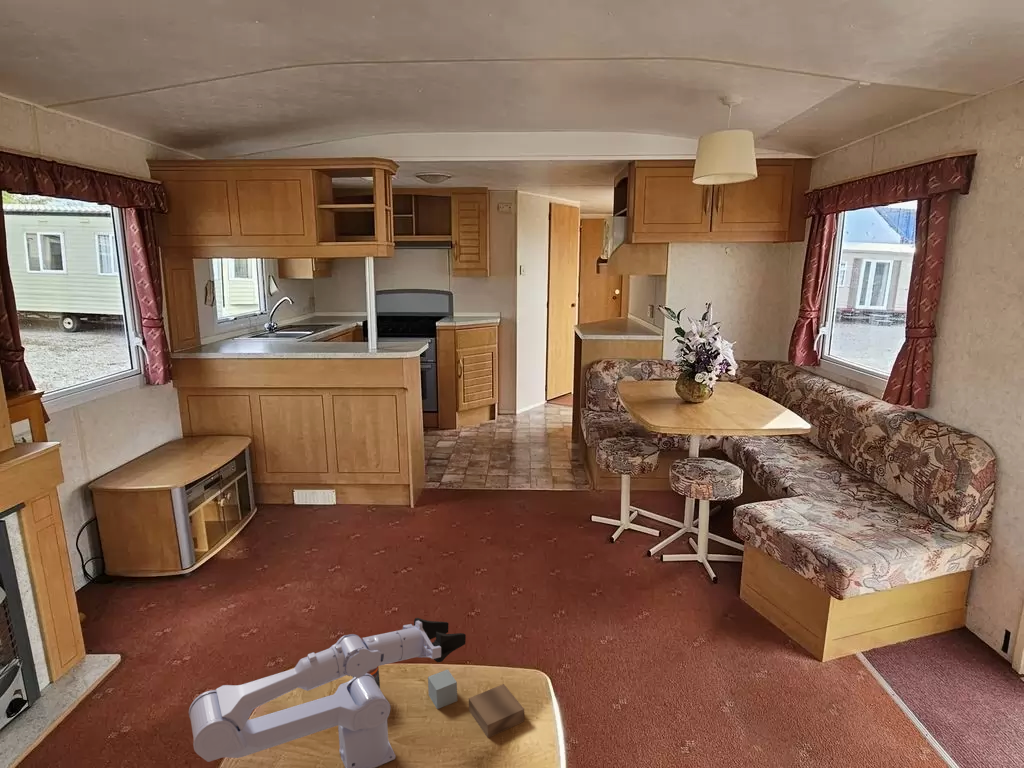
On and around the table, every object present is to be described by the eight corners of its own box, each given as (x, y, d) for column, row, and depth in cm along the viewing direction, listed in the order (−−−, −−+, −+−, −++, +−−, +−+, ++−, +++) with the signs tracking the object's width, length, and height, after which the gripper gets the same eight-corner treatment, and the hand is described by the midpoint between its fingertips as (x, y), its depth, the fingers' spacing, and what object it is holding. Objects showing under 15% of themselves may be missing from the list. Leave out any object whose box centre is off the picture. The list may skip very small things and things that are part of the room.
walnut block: (487, 739, 124) (487, 725, 123) (468, 711, 131) (468, 698, 131) (524, 722, 128) (524, 708, 128) (503, 697, 136) (503, 683, 135)
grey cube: (437, 709, 132) (436, 690, 131) (428, 695, 136) (427, 676, 135) (457, 701, 134) (456, 682, 133) (448, 687, 139) (447, 669, 137)
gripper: (412, 638, 113) (473, 624, 121) (384, 615, 125) (441, 604, 133) (411, 675, 113) (472, 659, 120) (383, 648, 125) (440, 635, 132)
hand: (456, 632), depth 127 cm, fingers open, 7 cm apart
